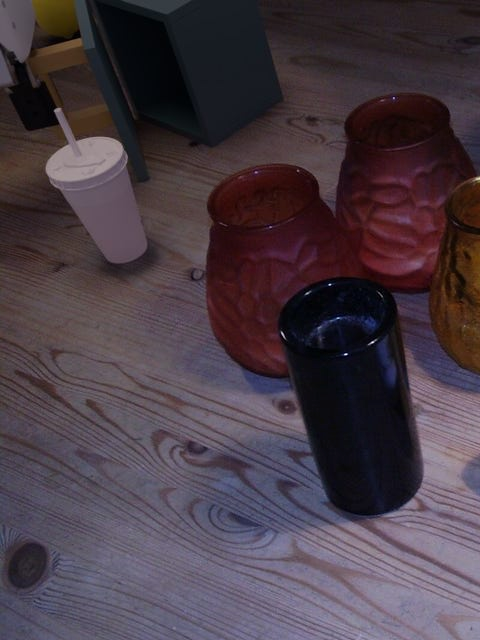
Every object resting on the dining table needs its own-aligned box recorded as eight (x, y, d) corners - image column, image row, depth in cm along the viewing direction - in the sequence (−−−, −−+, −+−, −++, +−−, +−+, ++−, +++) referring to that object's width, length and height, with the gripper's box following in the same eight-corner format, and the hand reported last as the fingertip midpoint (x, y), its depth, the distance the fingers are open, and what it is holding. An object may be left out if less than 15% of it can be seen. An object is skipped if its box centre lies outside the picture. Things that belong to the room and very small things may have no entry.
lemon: (36, 44, 118) (7, -21, 112) (73, 23, 121) (46, -42, 115) (66, 54, 116) (37, -13, 110) (102, 32, 118) (76, -34, 113)
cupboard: (213, 149, 98) (166, 14, 88) (135, 118, 104) (83, -12, 94) (284, 100, 103) (248, -33, 93) (206, 73, 109) (164, -55, 99)
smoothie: (122, 221, 91) (61, 84, 81) (177, 236, 88) (120, 95, 78) (74, 265, 87) (3, 126, 77) (131, 281, 85) (65, 140, 75)
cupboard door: (83, 198, 94) (20, 66, 84) (73, 136, 102) (15, 9, 92) (149, 179, 95) (95, 46, 85) (134, 119, 103) (83, -8, 94)
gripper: (-87, -114, 82) (12, 86, 95) (-124, -38, 71) (-6, 176, 84) (5, -132, 83) (91, 69, 96) (-17, -59, 72) (83, 156, 85)
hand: (45, 118), depth 90 cm, fingers closed on cupboard door
